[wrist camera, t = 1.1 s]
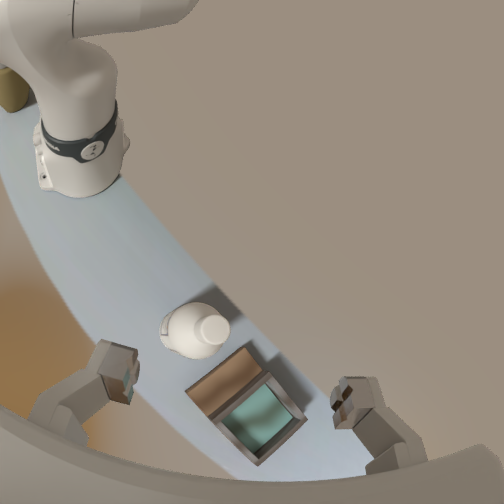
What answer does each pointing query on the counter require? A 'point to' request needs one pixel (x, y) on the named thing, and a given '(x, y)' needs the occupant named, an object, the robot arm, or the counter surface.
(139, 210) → the counter surface
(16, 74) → the squeeze bottle
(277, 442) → the tray
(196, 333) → the bath foam
